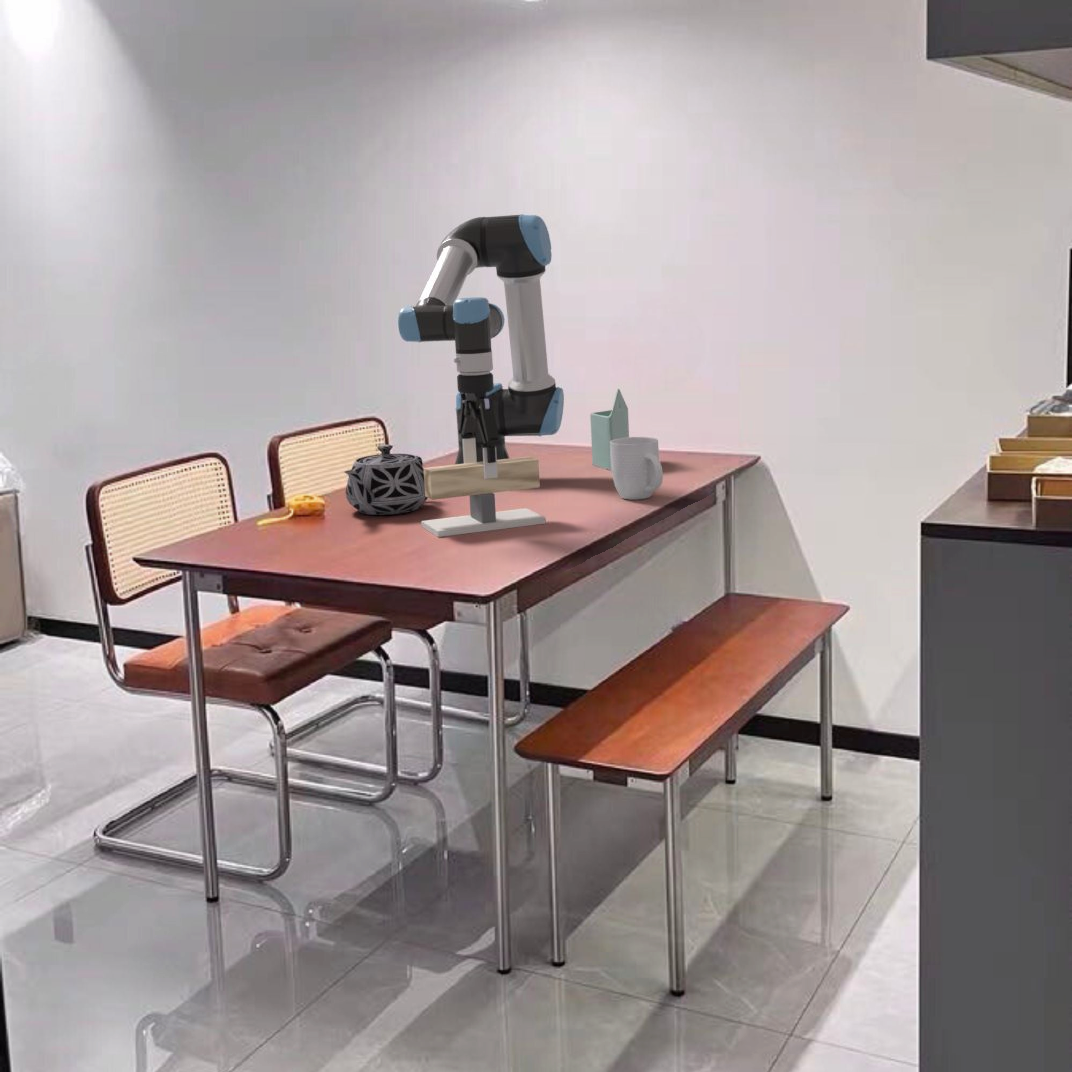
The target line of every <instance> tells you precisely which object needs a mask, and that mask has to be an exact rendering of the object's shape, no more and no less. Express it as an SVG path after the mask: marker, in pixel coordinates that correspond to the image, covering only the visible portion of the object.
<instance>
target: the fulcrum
mask: <svg viewBox="0 0 1072 1072" xmlns="http://www.w3.org/2000/svg"><path fill="white" fill-rule="evenodd" d="M495 496H496V495H495V493H487V494H478V495H470V496H469V511H470V514H468V515H467V514H466V515H459V516H452V517H444V518H436V519H435V518H434V519H427V520H421V527H422V528H423V529H424V530H426V531H428V532H430V533H431V534H432V535H434V536H436V537H437V538H440V537H450V536H458V535H465V534H472V533H481V532H488V531H489V532H490V531H497V530H504V529H505V530H506V529H510V528H512V529H513V528H521V527H526V526H535V525H542V524H547V518H546V517H545V516H543V515H541V514H539V513H537V512H535V511H533V510H531V509H529V508H527V507H524V508H515V509H510V510H509V509H508V510H500V511H496V497H495Z"/></svg>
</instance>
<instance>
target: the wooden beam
mask: <svg viewBox="0 0 1072 1072" xmlns="http://www.w3.org/2000/svg"><path fill="white" fill-rule="evenodd" d="M509 458H510V459H501V460H497V472H498V477H497V478H489V479H485V478H484V464H483V462H474V463H465V464H456V465H455V464H447V465H440V466H430V467H429V466H428V467H423V469H424V483H425V496H426V497H428V499H430V500H431V501H434V500H442V499H450V498H451V499H452V498H461V497H468V496H469V497H470V495H478V494H487V493H493V494H495V493H500V492H501V493H502V492H512V491H520V490H528V489H536V488H541V483H540V482H541V481H540V464H539V459H538V458H536V457H534V456H521V457H513V458H511V457H509Z"/></svg>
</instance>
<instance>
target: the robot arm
mask: <svg viewBox="0 0 1072 1072" xmlns="http://www.w3.org/2000/svg"><path fill="white" fill-rule="evenodd" d="M436 259H437V261H436V263H435V265H434V267H433V270H432V271H431V273H430V276H429V278H428V280H427V282H426V284H425V286H424V289H423V290H422V293H421V295H420V296H419V299H418V301H417V303H416V305H415V306H413V305H411V306H405V307H402V308H401V309H400V311H399V312H398V320H397V321H398V323H397V325H398V331H399V335H400V337H401V339H402V340H403V341H405V342H412V343H413V342H415V343H425V342H426V343H427V342H448V341H449V342H450V341H452V342H453V341H454V344H455V347H454V348H455V356H456V358H454V359H453V362H454V363H455V364H456V371H457V373H459V374H458V375H457V376H456V378H457V379H456V380H457V393H456V396H455V405H456V406H455V411H456V412H455V413H456V425H457V426H456V427H457V440H458V441H457V442H458V443H457V444H458V451H457V455H456V458H455V462H454V465H456V464H465V463H474V462H483V464H484V478H485V479H489V478H497V477H498V472H497V460H501V459H510V458H511V457H510V455H509V453H508V451H507V448H506V437H527V436H528V437H531V436H532V437H536V436H537V437H542V436H553V435H555V434H557V433H558V432H559V430H560V427H561V424H562V420H563V414H564V402H565V394H564V390H563V388H562V387H559V386H557V385H556V379H555V378H554V377H553V376H552V375H550V373H549V368H548V356H547V355H548V354H547V344H546V333H545V321H544V310H543V298H542V297H543V296H542V288H541V287H542V286H541V277H543V275H544V274H545V273H546V266H548V265H550V263H551V262H552V243H551V237H550V234H549V231H548V227H547V225H546V222H545V221H544V219H543V218H542V217H540V216H539V215H536V214H535V215H534V214H533V215H532V214H531V215H530V214H515V215H514V214H511V215H498V216H478V217H474V218H470V219H469V220H467V221H464V222H463V223H461V224H459V225H458V226H456V227H455V228H454V229H453V230H451V231H450V232H449V233H448V234H447V235H446V236H445V237H444V238H443V240H442V241H441V243H440V245H439V247H438V249H437V252H436ZM477 268H495V270H496V276H497V278H499V279H500V280H501V281H502V282H503V286H504V287H503V288H504V297H505V306H506V316H507V326H508V336H509V344H510V345H509V347H510V355H511V356H510V357H511V365H512V366H511V367H512V375H513V376H512V378H511V379H510V380H509V382H508V383H507V388H504V386H503V384H502V383H501V382H494V374H493V373H492V372H491V371H493V370H494V366H493V365H494V364H493V351H492V339H493V338H495V337H497V336H498V335H499V334H500V333H501V331H503V329H504V327H505V316H504V313H503V310H502V309H501V308H500V307H498V305H496V304H494V303H490V302H489V299H487V298H486V297H483V296H482V297H480V296H479V297H475V296H474V297H462V298H458V297H459V295H460V292H461V290H462V288H463V286H464V284H465V282H466V279H467V277H468V275H471V274H472V273H473V272H474V271H475V269H477Z"/></svg>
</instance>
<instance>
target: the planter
mask: <svg viewBox="0 0 1072 1072" xmlns="http://www.w3.org/2000/svg"><path fill="white" fill-rule="evenodd" d="M614 397H615V398H614V401H613V402H614V403H613V405H612V409H610V410H603V411H596V412H591V413H590V415H589V416H590V434H591V435H590V436H591V437H590V438H591V455H592V456H591V461H592V462H591V463H592V466H594V465H595V466H594V467H596V466H598V467H597V468H600V467H602V468H601V469H603V468H605V470H607V469H608V471H610V472H612V470H611V461H610V460H611V459H610V441H611V440H614V439H619V438H626V437H630V427H629V408H628V405H627V403H626V400H625V398H624V397H623V394H622V392H621V390H620V388H617V390H616V393H615V396H614Z"/></svg>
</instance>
